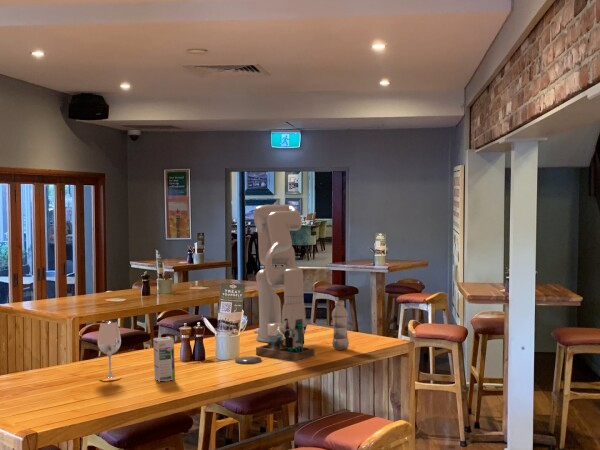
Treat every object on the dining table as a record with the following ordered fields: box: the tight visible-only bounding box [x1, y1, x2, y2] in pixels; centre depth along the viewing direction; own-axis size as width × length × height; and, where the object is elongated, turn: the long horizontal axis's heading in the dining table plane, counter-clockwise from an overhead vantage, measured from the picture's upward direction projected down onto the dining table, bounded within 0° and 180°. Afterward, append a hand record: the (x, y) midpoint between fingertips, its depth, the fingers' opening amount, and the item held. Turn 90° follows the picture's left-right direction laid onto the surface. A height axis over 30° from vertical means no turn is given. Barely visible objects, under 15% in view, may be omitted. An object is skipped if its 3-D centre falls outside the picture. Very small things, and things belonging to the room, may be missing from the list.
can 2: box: [287, 319, 304, 353], centre depth 265 cm, size 6×6×15 cm
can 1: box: [267, 322, 284, 350], centre depth 271 cm, size 6×6×12 cm
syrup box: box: [152, 336, 176, 383], centre depth 234 cm, size 6×6×14 cm
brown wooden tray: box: [255, 343, 316, 363], centre depth 268 cm, size 21×11×3 cm, turn 52°
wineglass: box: [97, 320, 122, 378], centre depth 237 cm, size 8×8×20 cm
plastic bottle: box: [331, 299, 350, 351], centre depth 277 cm, size 6×7×20 cm
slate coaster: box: [234, 356, 262, 365], centre depth 260 cm, size 10×10×1 cm
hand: (294, 345), depth 265 cm, fingers closed on can 2, 6 cm apart
